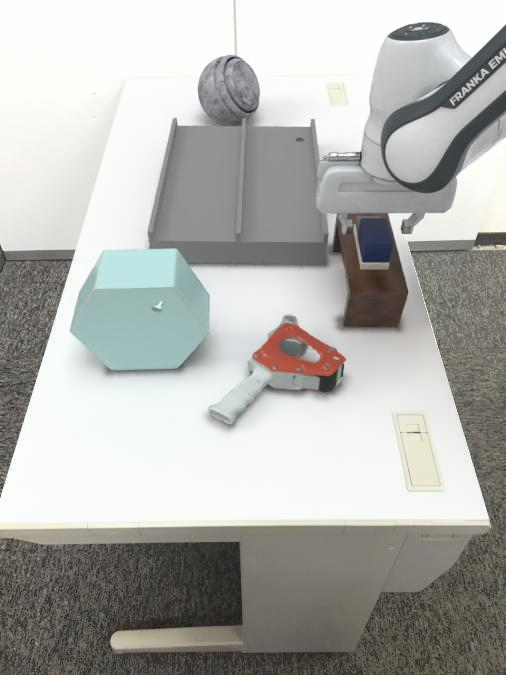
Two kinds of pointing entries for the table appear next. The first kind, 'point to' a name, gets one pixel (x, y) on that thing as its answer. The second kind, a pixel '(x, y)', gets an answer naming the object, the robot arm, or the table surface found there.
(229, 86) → the decorative orb
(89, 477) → the table surface
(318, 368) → the tape dispenser
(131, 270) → the cyan faceted polyhedron
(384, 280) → the brown wooden block
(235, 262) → the desk organizer
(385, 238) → the navy lidded box
